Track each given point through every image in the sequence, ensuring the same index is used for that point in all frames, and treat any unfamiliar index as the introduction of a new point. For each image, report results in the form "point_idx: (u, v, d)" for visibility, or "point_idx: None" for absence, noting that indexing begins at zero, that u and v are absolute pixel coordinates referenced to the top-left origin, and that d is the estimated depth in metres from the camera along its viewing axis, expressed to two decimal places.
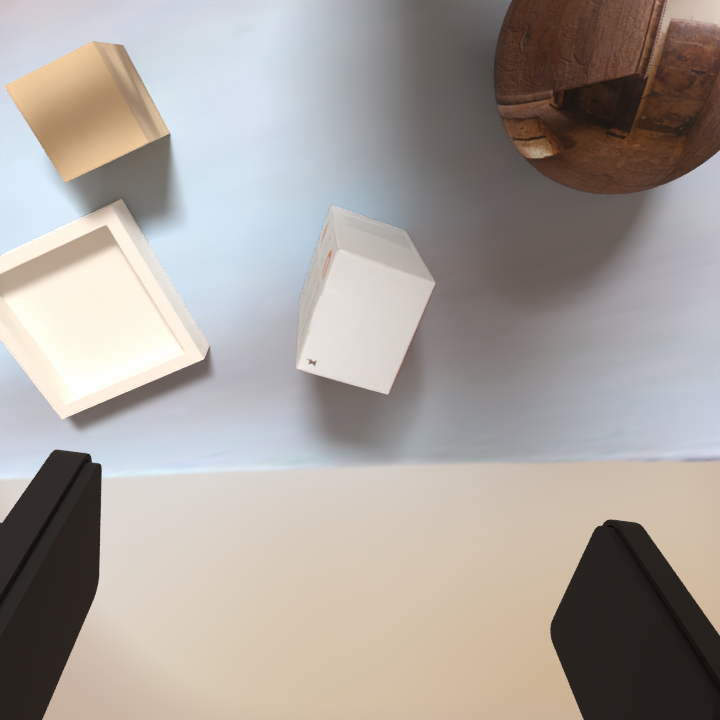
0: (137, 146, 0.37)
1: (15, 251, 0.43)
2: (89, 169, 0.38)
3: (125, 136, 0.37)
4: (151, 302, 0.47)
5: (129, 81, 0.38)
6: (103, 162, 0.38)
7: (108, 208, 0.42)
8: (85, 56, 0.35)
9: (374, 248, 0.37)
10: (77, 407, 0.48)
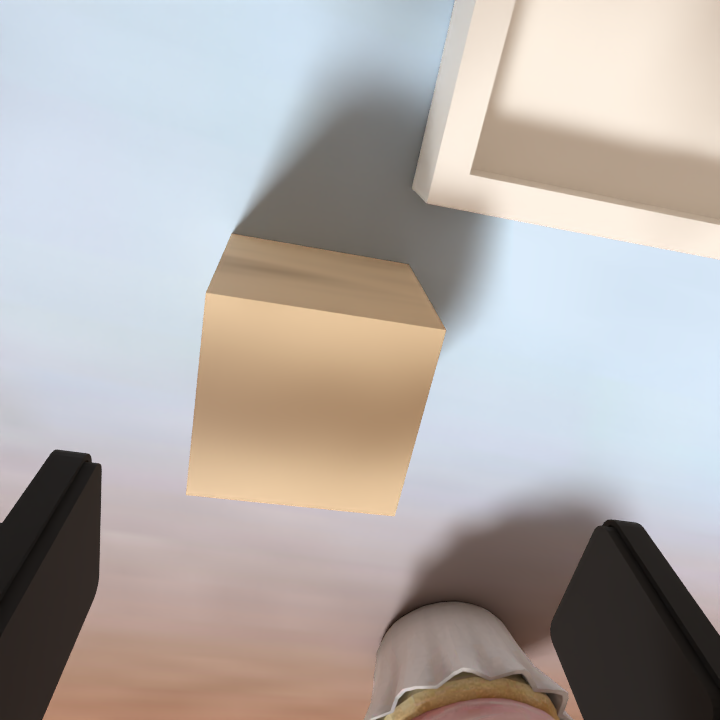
0: (236, 300, 0.14)
1: (673, 248, 0.18)
2: (375, 322, 0.15)
3: (248, 332, 0.15)
4: None
5: None
6: (335, 316, 0.15)
7: (436, 201, 0.17)
8: (217, 484, 0.17)
9: None
10: None
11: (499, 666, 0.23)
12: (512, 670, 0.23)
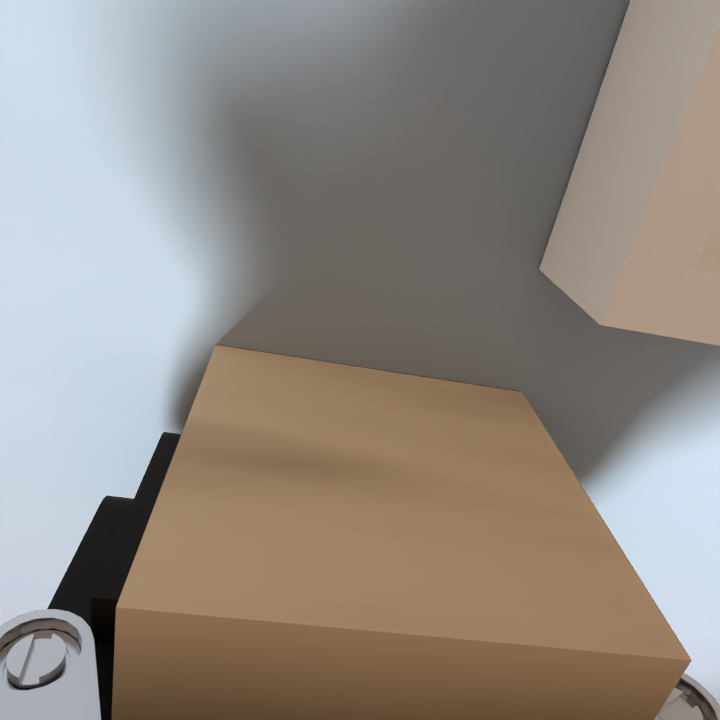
0: (194, 621, 0.06)
1: None
2: (530, 650, 0.06)
3: (224, 677, 0.06)
4: None
5: None
6: (435, 643, 0.06)
7: (618, 321, 0.08)
8: None
9: None
10: None
11: None
12: None
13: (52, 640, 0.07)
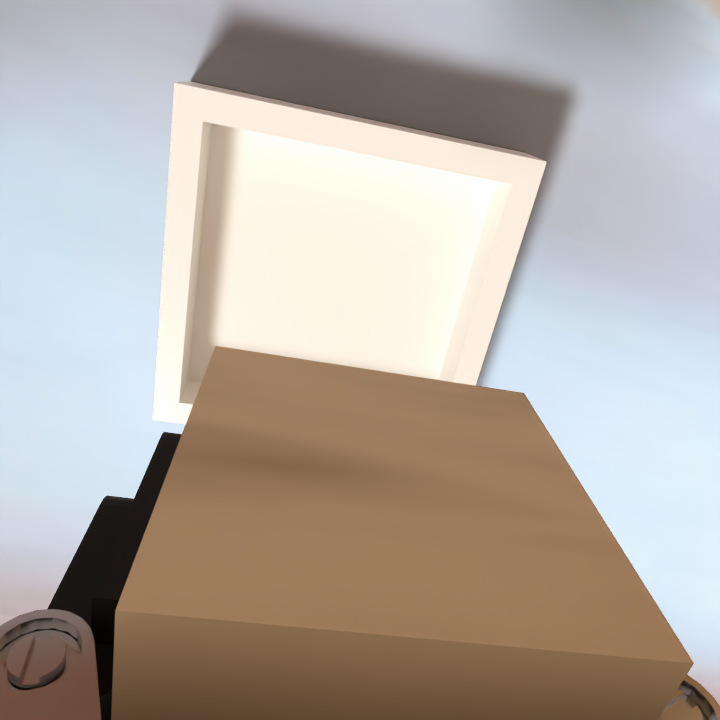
0: (193, 625, 0.06)
1: None
2: (531, 654, 0.06)
3: (223, 680, 0.06)
4: (229, 235, 0.24)
5: None
6: (436, 647, 0.06)
7: (159, 418, 0.25)
8: None
9: None
10: (497, 163, 0.21)
11: None
12: None
13: (52, 641, 0.07)
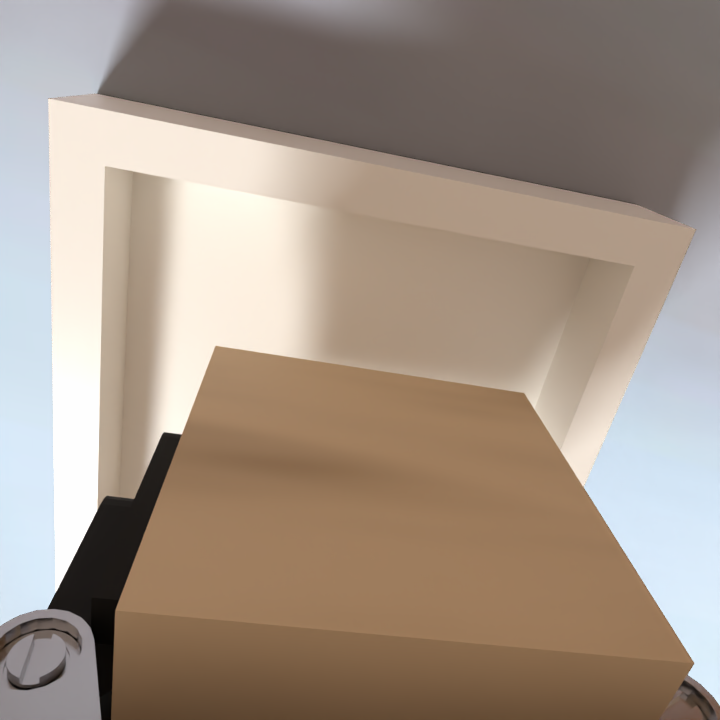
0: (194, 625, 0.06)
1: None
2: (531, 654, 0.06)
3: (224, 680, 0.06)
4: (170, 336, 0.15)
5: None
6: (436, 647, 0.06)
7: None
8: None
9: None
10: (613, 233, 0.13)
11: None
12: None
13: (52, 641, 0.07)
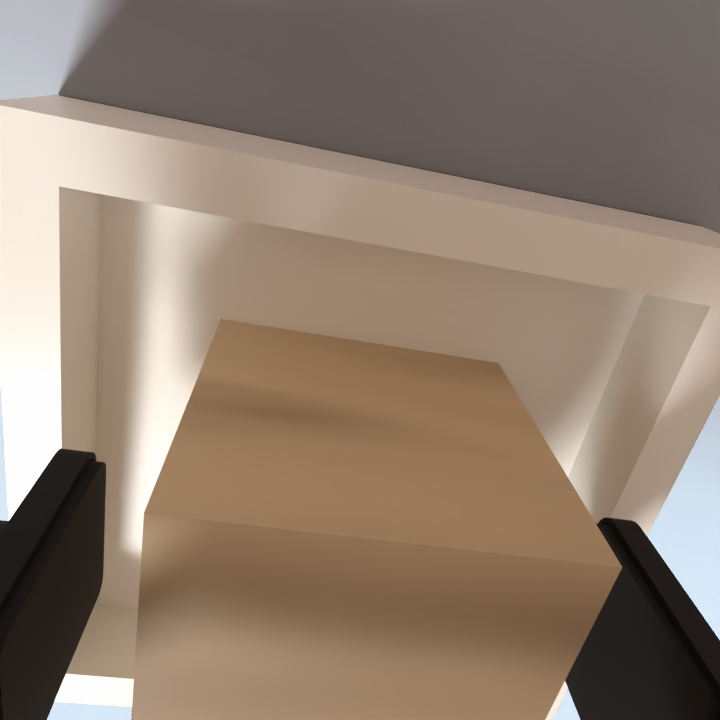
0: (207, 526, 0.07)
1: None
2: (485, 557, 0.08)
3: (232, 577, 0.07)
4: (149, 380, 0.13)
5: None
6: (406, 549, 0.07)
7: None
8: None
9: None
10: (686, 266, 0.10)
11: None
12: None
13: None
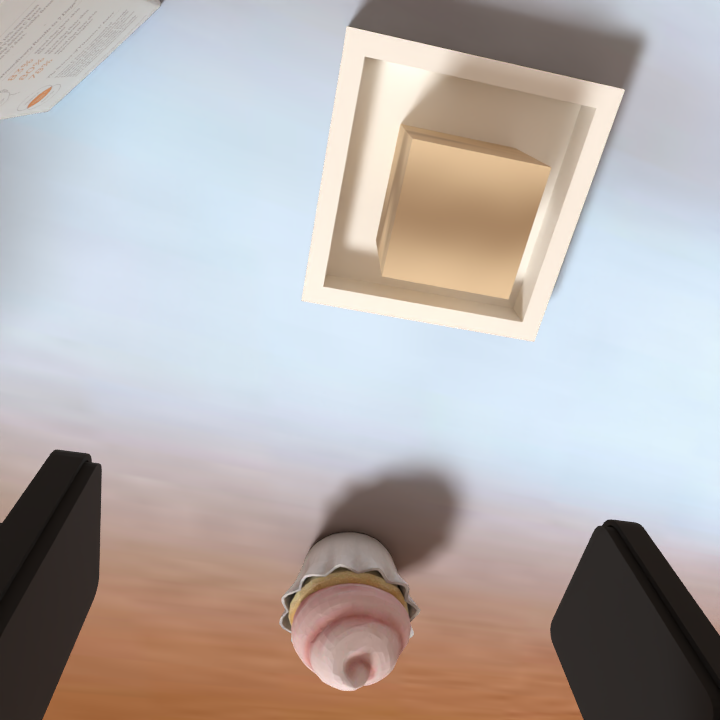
0: (429, 144, 0.25)
1: (444, 324, 0.33)
2: (509, 160, 0.25)
3: (433, 165, 0.25)
4: (367, 153, 0.31)
5: (388, 210, 0.29)
6: (485, 156, 0.25)
7: (306, 299, 0.32)
8: (401, 269, 0.27)
9: None
10: (586, 91, 0.28)
11: (365, 566, 0.38)
12: (371, 568, 0.38)
13: None
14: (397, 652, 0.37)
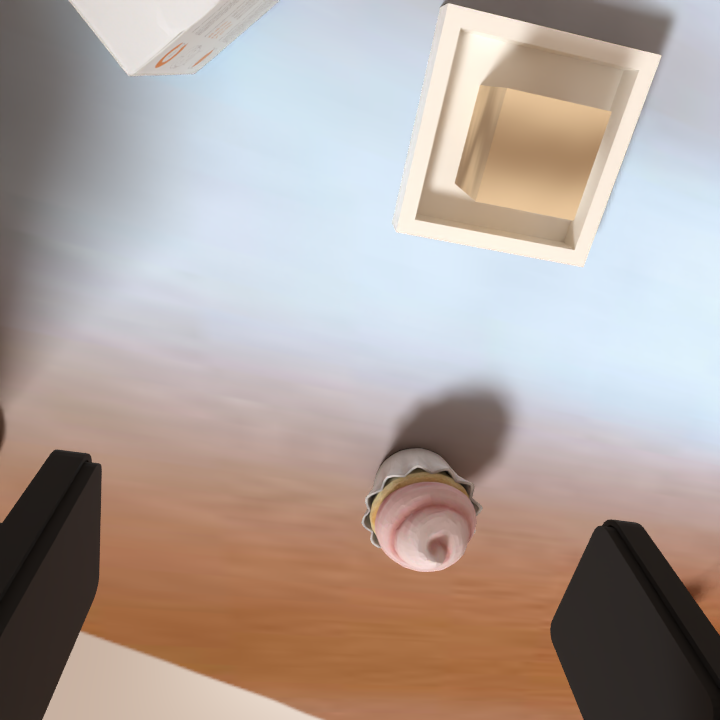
0: (519, 92, 0.32)
1: (511, 252, 0.40)
2: (579, 106, 0.32)
3: (521, 109, 0.32)
4: (452, 109, 0.38)
5: (474, 152, 0.36)
6: (562, 102, 0.32)
7: (400, 231, 0.39)
8: (491, 195, 0.34)
9: None
10: (631, 56, 0.35)
11: (437, 468, 0.45)
12: (443, 468, 0.45)
13: None
14: (467, 539, 0.44)
